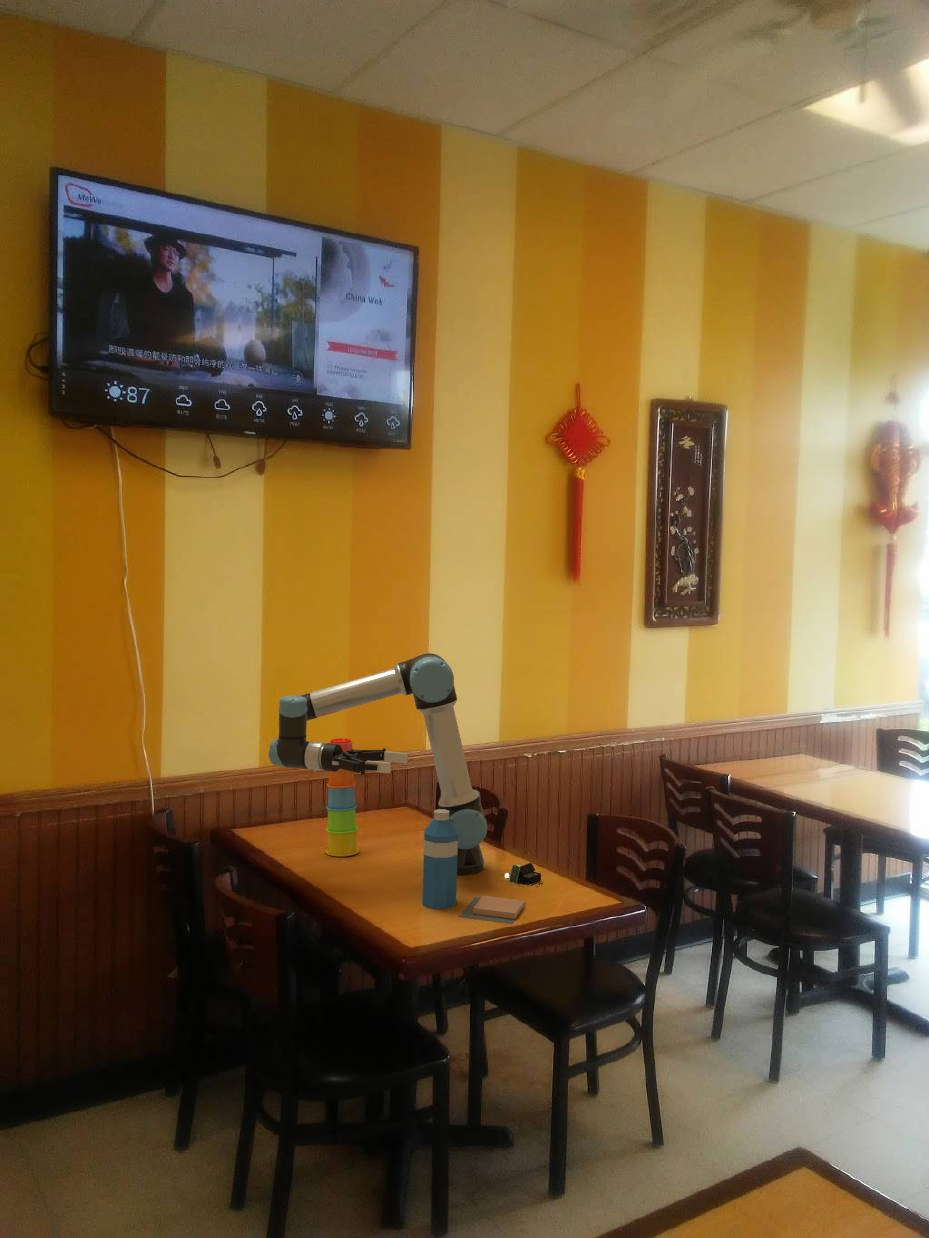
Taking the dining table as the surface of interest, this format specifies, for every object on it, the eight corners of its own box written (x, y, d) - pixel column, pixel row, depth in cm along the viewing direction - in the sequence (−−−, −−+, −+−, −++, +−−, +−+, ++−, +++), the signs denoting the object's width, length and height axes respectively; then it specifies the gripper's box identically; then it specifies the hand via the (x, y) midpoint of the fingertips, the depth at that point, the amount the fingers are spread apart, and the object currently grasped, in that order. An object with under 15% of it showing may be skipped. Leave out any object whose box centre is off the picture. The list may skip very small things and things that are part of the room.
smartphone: (521, 870, 301) (522, 852, 300) (563, 882, 291) (564, 863, 291) (490, 882, 289) (490, 863, 289) (533, 894, 280) (533, 875, 279)
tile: (483, 895, 269) (524, 900, 266) (483, 901, 269) (523, 906, 267) (473, 907, 260) (515, 913, 257) (473, 914, 260) (515, 919, 257)
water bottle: (415, 908, 265) (418, 813, 263) (428, 897, 273) (431, 805, 272) (449, 913, 262) (452, 817, 260) (461, 902, 271) (464, 809, 269)
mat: (474, 899, 273) (475, 896, 273) (526, 905, 269) (526, 903, 269) (458, 919, 258) (458, 916, 258) (512, 926, 254) (512, 923, 254)
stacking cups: (328, 858, 305) (331, 743, 303) (322, 848, 315) (325, 737, 312) (362, 856, 308) (365, 742, 306) (355, 846, 318) (358, 736, 316)
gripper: (342, 761, 290) (413, 767, 284) (305, 779, 266) (382, 787, 260) (343, 735, 289) (414, 741, 283) (305, 751, 265) (382, 757, 259)
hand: (399, 763), depth 272 cm, fingers open, 13 cm apart
